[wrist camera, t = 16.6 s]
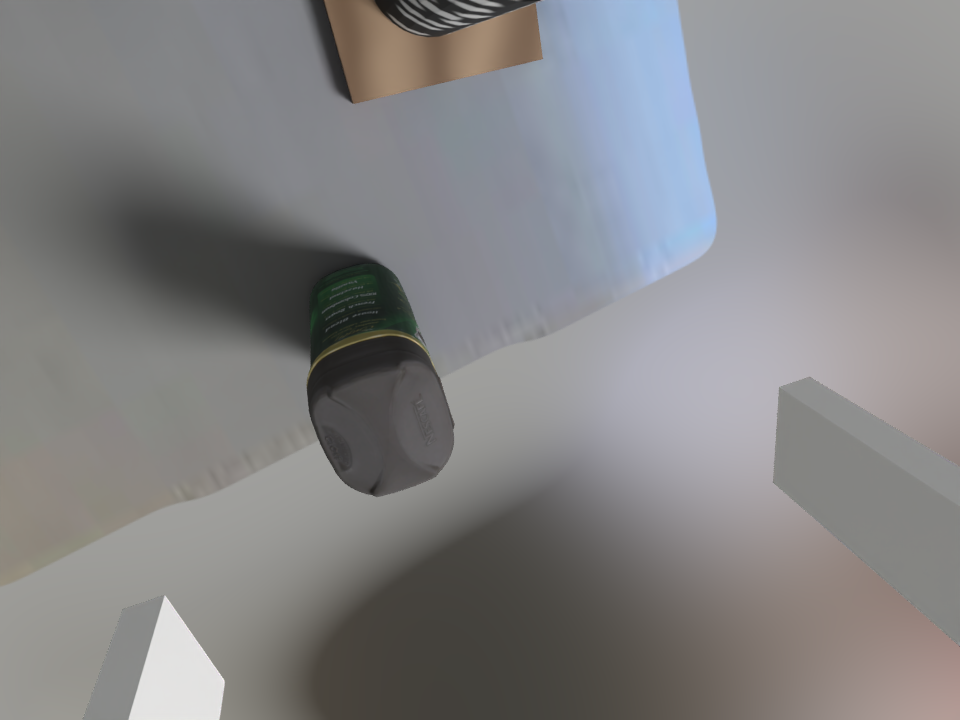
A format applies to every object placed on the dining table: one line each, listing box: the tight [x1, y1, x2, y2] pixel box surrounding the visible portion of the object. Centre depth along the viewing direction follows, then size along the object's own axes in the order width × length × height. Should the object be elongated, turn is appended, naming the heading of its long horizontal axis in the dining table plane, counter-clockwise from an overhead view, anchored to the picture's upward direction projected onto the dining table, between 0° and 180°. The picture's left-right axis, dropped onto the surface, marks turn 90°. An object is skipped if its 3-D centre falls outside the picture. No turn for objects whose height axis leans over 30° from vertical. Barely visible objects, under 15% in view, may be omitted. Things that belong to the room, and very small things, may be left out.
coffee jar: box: [307, 264, 454, 497], centre depth 40 cm, size 10×8×19 cm
